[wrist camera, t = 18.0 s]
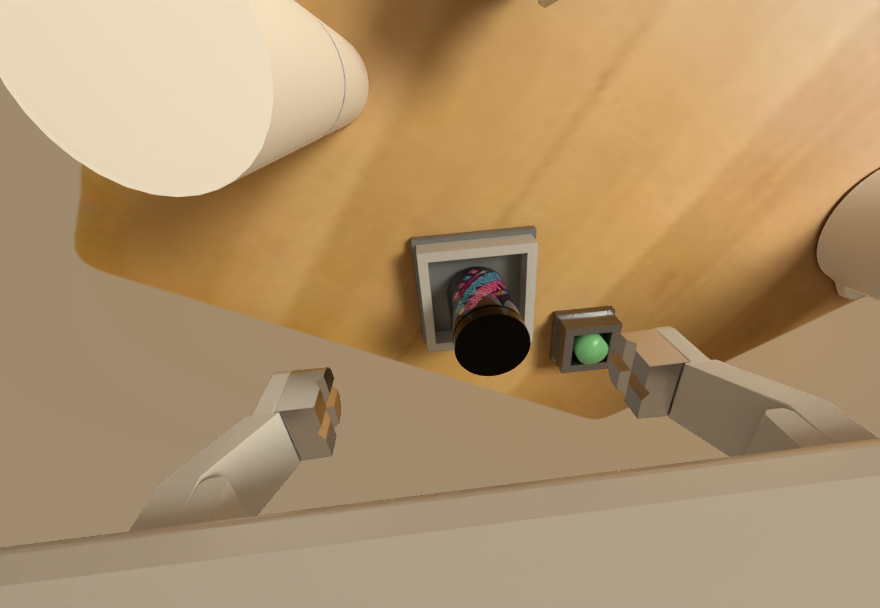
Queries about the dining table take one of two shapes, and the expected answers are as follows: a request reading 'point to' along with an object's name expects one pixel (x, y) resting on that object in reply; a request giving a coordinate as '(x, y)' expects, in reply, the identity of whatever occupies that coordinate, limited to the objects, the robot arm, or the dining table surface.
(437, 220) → the dining table surface
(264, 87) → the cylindrical container
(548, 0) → the character mug
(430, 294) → the square shallow tray
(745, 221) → the dining table surface
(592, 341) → the button
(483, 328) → the supplement container
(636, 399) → the robot arm
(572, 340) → the button housing
